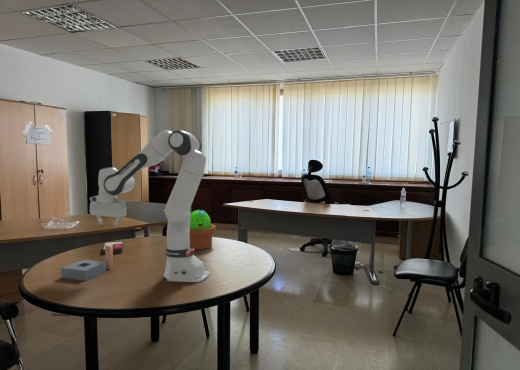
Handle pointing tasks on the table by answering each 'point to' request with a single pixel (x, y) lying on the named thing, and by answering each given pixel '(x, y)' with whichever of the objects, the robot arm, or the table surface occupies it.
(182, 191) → the robot arm
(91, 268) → the socket block
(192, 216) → the potted cactus
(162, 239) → the table surface
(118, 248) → the black white red box
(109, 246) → the peg
